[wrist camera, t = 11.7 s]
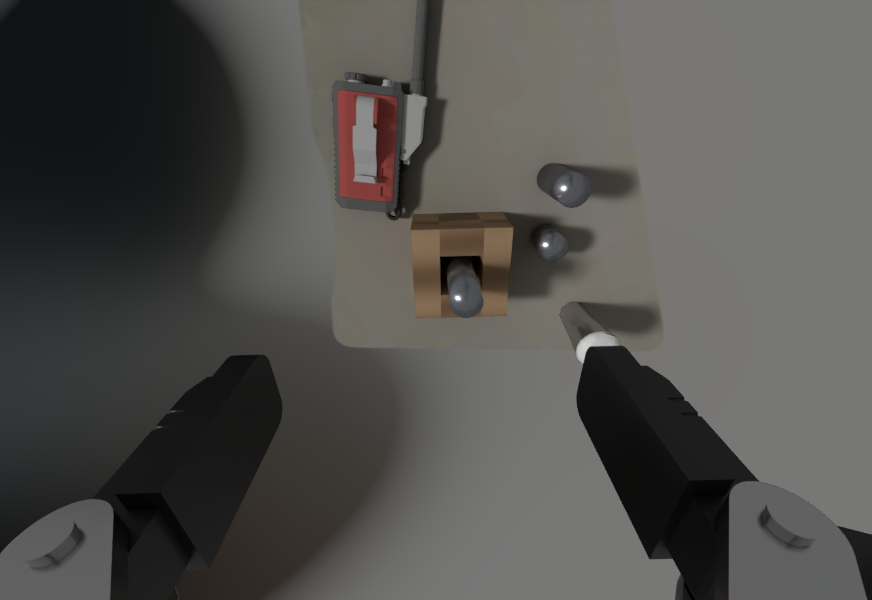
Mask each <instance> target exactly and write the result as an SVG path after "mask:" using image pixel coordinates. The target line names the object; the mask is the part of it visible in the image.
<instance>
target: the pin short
mask: <svg viewBox="0 0 872 600" xmlns="http://www.w3.org/2000/svg"><path fill="white" fill-rule="evenodd" d="M531 242H532V244H533V246H534V247H535V248H536V249H537V251H538V252H539V253H540V255H541V256H542V257H543V258H544V259H545V260H547V261H557V260H559V259H561V258H562V257H564V256H565V254H566V253H567V251H568V241H567V239H566V238H565V237H564V236H563V235H562V234H561V233H560V232H558V231H557V230H556V229H555V228H554V227H553V226H552V225H550V224H541V225H539V226H537V227H536V228H535V229H534V230H533V231H532V233H531Z"/></svg>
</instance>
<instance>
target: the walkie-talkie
mask: <svg viewBox="0 0 872 600" xmlns="http://www.w3.org/2000/svg"><path fill="white" fill-rule="evenodd" d="M428 10H429V0H417V12H416V27H415V43H414V58H413V74H412V79H411V80H410V94H409V95H407V94H404V92H403V90H402V88H401V83H400V82H393V85H392V81H391V80H383V84H382V86H377V85H369V84H365V82H367V81H368V76H367V75H365V74H360V73H353V72H346V73H345V78H346V79H347V80H348V82H346V81H337V80H336V81H335V82H334V84H333V85H332V89H333V91H332V102H333V128H334V138H335V142H334V144H335V148H334V150H335V154H334V156H335V160H334V162H335V166H334V167H335V174H336V177H335V179H336V183H335V185H336V188H335V190H336V194H335V196H336V199H335V200H336V201H337V203H338V204H339V205H340V207H342V208H347V209H356V210H366V211H375V212H385V213H386V215H387V217H388V218H389V219H391V220H397V219H398V218H399V217H400V215H401V211H402V195H403V180H404V173H405V171H406V170H407V167H408V164H410V156H411V154H412V153H413V152H414V151H415V150H416V148H417V147H418V146H419V145H420V144H421V143H422V140H423V129H424V118H425V108H426V107H427V100H428V97H424V96H423V93H424V81H423V74H424V61H425V48H426V36H427V23H428ZM401 160H403V164H404V167H403V169H402V170H400V167H401V164H400V162H401ZM400 172H401V174H400ZM399 179H400V180H399ZM397 206H398V213H397V215H396V216H392V215H391V214H390V213H391V212H392V211H393V210H394V209H395V208H396V207H397Z"/></svg>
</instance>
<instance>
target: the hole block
mask: <svg viewBox="0 0 872 600" xmlns="http://www.w3.org/2000/svg"><path fill="white" fill-rule="evenodd" d="M513 228H514V227H513V226H512V225H511V223H510V222H509V220H508V219H507V218H506V216H505V215H504V214H503V212H483V213H446V214H413V219H412V225H411V245H412V262H413V279H414V295H415V312H416V318H448V317H459V316H457V315H455V314H454V313H453V312H452V310H451V308H450V302H449V292H448V282H447V273H446V272H443V273H440V257H442V256H476V276H477V279H478V283H479V286H480V290H481V293H482V297H483V302H484V303H483V307H482V309H481V311H480V312H479V313H478V314H477V315H475V316H473V317H484V316H506V312H507V300H508V288H509V276H510V264H511V252H512V240H513Z"/></svg>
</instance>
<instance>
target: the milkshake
mask: <svg viewBox="0 0 872 600" xmlns="http://www.w3.org/2000/svg"><path fill="white" fill-rule="evenodd" d="M559 316H560V318H561V321H562V323H563V325H564V327H565V329H566V331H567V334H568V336H569V338H570V340H571V343H572V346H573V348H574V351H575V353H576V355H577V358H578V359H579V360H580V361H581V362H582V363H584V359H585V354H586V351H587V349H588V348H589V347H591V346H619V343H618V340H617V338H616V337H618V336H615V335H613V334H612V333H610V332H609V331H608V330H607V329H606V328H605V327H604V326H603V325H602V324H601V323H600V322H599V321H598V320H597V319H596V318H595V317H594V316H593V315H592V314H591V313H590V312H589V311H588V310H587V309H586V308H585V307H584V306H583V305H581V304H579V303H577V302H572V303H568V304H566V305H565V306H564V307H562V308H561V311H560V314H559Z"/></svg>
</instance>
